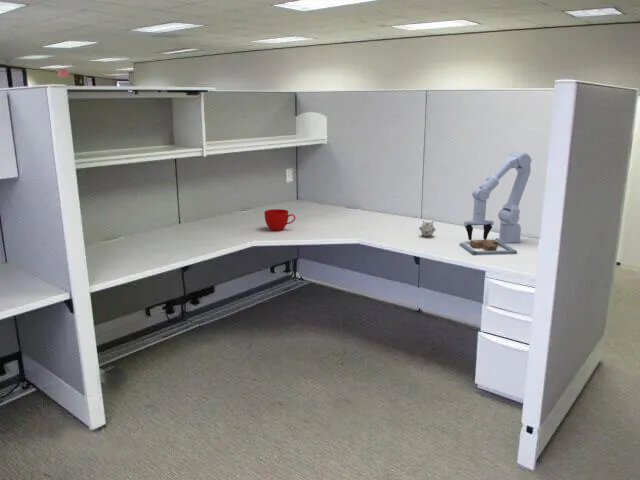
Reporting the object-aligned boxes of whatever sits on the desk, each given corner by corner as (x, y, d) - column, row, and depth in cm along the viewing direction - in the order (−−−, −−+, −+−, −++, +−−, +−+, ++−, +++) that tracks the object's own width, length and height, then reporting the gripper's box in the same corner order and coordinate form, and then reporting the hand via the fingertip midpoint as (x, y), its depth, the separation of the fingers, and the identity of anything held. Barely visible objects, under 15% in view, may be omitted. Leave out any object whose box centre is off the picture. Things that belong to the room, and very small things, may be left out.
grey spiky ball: (429, 242, 283) (440, 227, 283) (428, 240, 275) (440, 224, 274) (415, 233, 286) (426, 217, 285) (413, 230, 277) (425, 214, 277)
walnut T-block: (493, 245, 264) (494, 239, 263) (504, 252, 252) (505, 246, 251) (470, 246, 262) (470, 240, 262) (479, 253, 251) (480, 246, 250)
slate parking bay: (501, 244, 266) (501, 241, 266) (516, 253, 249) (517, 251, 249) (459, 245, 264) (459, 243, 263) (472, 255, 247) (472, 252, 247)
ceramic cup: (292, 233, 288) (292, 214, 285) (261, 231, 291) (261, 213, 288) (298, 227, 300) (298, 210, 297) (268, 226, 303) (268, 208, 301)
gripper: (490, 210, 270) (488, 237, 273) (462, 211, 268) (460, 237, 271) (496, 213, 263) (494, 240, 266) (467, 214, 261) (465, 241, 265)
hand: (477, 239), depth 268 cm, fingers open, 7 cm apart
